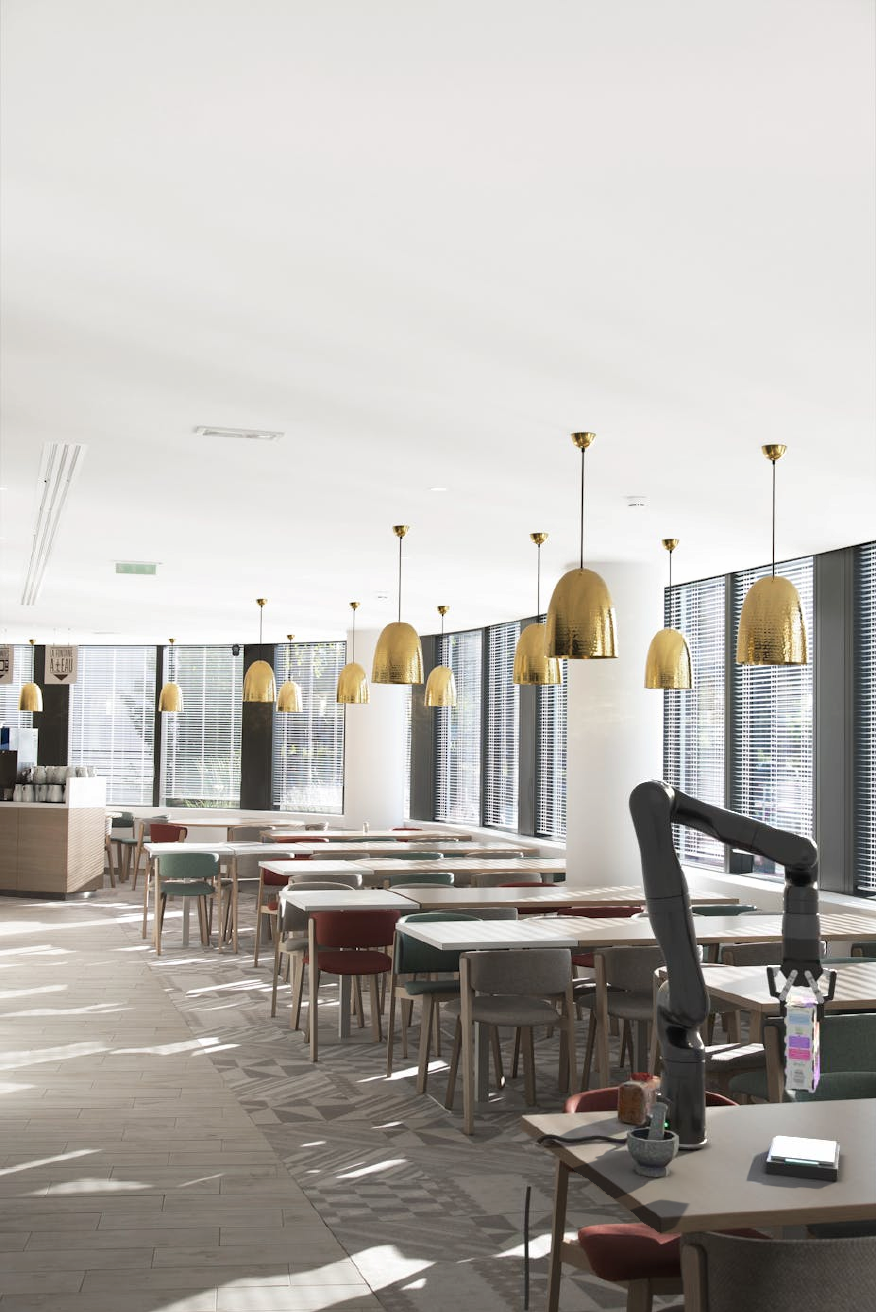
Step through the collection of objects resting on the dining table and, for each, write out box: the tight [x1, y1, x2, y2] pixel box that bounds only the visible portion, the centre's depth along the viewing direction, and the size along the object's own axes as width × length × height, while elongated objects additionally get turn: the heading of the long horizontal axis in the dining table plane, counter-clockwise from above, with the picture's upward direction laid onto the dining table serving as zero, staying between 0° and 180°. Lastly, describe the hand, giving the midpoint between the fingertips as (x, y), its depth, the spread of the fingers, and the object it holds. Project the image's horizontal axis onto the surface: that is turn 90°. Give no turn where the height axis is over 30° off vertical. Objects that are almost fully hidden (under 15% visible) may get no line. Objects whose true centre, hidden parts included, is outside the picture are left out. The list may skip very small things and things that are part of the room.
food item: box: [617, 1072, 660, 1126], centre depth 281 cm, size 14×8×10 cm, turn 149°
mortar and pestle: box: [626, 1102, 679, 1178], centre depth 242 cm, size 11×9×12 cm
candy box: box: [783, 995, 821, 1094], centre depth 252 cm, size 14×6×16 cm, turn 159°
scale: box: [765, 1135, 841, 1182], centre depth 247 cm, size 18×13×3 cm
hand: (802, 1020), depth 252 cm, fingers closed on candy box, 6 cm apart
